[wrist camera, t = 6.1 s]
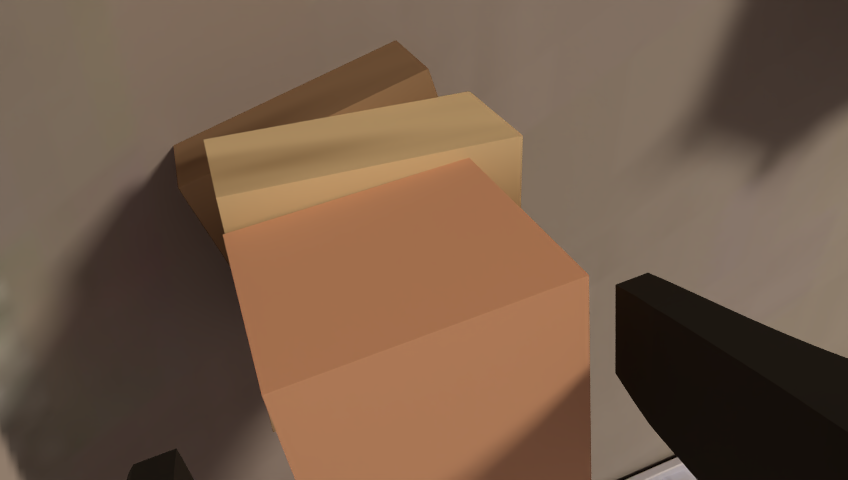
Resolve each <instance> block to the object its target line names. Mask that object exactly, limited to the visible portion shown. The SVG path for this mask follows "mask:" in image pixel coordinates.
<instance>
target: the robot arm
mask: <svg viewBox="0 0 848 480" xmlns="http://www.w3.org/2000/svg"><path fill="white" fill-rule="evenodd" d="M616 375H617V376H618V378H619V379H620V381H621V382H622V384H623V385H624V387H625V389H626V390H627V392H628V393H629V395H630V396H631V398H632V399H633V401H634V402H635V404H636V405H637V407H638V408H639V410H640V411H641V413H642V414H643V416H644V417H645V418H646V420H647V421H648V423H649V424H650V425H651V427H652V428H653V429H654V430H655V431H656V433H657V434H658V435H659V436H660V437H661V438H662V440H663V441H664V442H665V443H666V444H667V445H668V447H669V448H670V449H671V450H672V451H673V452H674V454H675V455H676V456H677V457H676V458H674V459H671V460H669V461H667V462H664V463H662V464H660V465H658V466H655V467H653V468H651V469H648V470H646V471H644V472H642V473H639V474H637V475H635V476H632V477H630V478H628V479H626V480H848V358H845V357H842V356H840V355H837V354H834V353H832V352H829V351H827V350H824V349H821V348H819V347H816V346H814V345H811V344H809V343H806V342H804V341H801V340H799V339H796V338H794V337H792V336H789V335H787V334H784V333H782V332H780V331H777V330H775V329H773V328H770V327H768V326H766V325H763V324H761V323H759V322H757V321H754V320H752V319H750V318H747V317H745V316H743V315H741V314H739V313H736V312H734V311H732V310H730V309H727V308H725V307H723V306H721V305H719V304H717V303H714V302H712V301H710V300H708V299H706V298H703V297H701V296H699V295H697V294H695V293H693V292H690V291H688V290H686V289H684V288H682V287H679V286H677V285H675V284H673V283H671V282H668V281H666V280H664V279H662V278H659V277H657V276H654V275H652V274H650V273H646V274H643V275H641V276H638V277H635V278H633V279H630V280H627V281H625V282H622V283H619V284H617V285H616ZM127 480H194V479H193V477H192V476H191V474H190V472H189V470H188V468H187V467H186V465H185V463H184V461H183V459H182V458H181V456H180V454H179V452H178V450H177V449H174V450H171V451H169V452H166V453H163V454H161V455H158V456H155V457H153V458H150V459H147V460H145V461H142V462H139V463H137V464H134V465H133V467H132V468H131V470H130V472H129V474H128V477H127Z"/></svg>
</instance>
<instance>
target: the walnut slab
mask: <svg viewBox="0 0 848 480" xmlns="http://www.w3.org/2000/svg"><path fill="white" fill-rule="evenodd" d="M437 97H438V96H437V93H436V90H435V87H434V84H433V81H432V78H431V75H430V73H429V70H428V68H427V67H426V66H425V65H423V64H422V63H421V62H420V61H419V60H418V59H417V58H415V57H414V56H413V55H412V54H411V53H410V52H409V51H408V50H406V49H405V48H404V47H403V46H402V45H401V44H400V43H399V42H397V41H393V42H391V43H389V44H387V45H385V46H383V47H381V48H379V49H377V50H374V51H372V52H370V53H368V54H366V55H364V56H362V57H360V58H358V59H355V60H353V61H351V62H349V63H347V64H345V65H343V66H341V67H339V68H336V69H334V70H332V71H330V72H328V73H326V74H324V75H322V76H320V77H317V78H315V79H313V80H311V81H309V82H307V83H305V84H303V85H300V86H298V87H296V88H294V89H292V90H290V91H288V92H286V93H284V94H281V95H279V96H277V97H275V98H273V99H271V100H269V101H267V102H265V103H262V104H260V105H258V106H256V107H254V108H252V109H250V110H248V111H246V112H243V113H241V114H239V115H237V116H235V117H233V118H231V119H229V120H227V121H224V122H222V123H220V124H218V125H216V126H214V127H212V128H210V129H208V130H205V131H203V132H201V133H199V134H197V135H195V136H193V137H191V138H189V139H186V140H184V141H182V142H180V143H178V144H176V145H174V155H175V164H176V173H177V181H178V189H179V190H180V192H181V193H182V195H183V196H184V198H185V199H186V201H187V202H188V204H189V205H190V207H191V208H192V210H193V211H194V213H195V214H196V216H197V217H198V219H199V220H200V222H201V223H202V225H203V226H204V228H205V229H206V231H207V232H208V234H209V235H210V237H211V238H212V240H213V241H214V243H215V244H216V246H217V247H218V249H219V250H220V252H221V253H222V255H223V256H224V258H225V259H226V261H227V262H228V264H229V265H230V263H229V259H228V255H227V251H226V247H225V242H224V238H223V234H225V232H224V228H223V224H222V220H221V216H220V212H219V208H218V204H217V200H216V195H215V191H214V186H213V181H212V177H211V172H210V167H209V163H208V158H207V154H206V149H205V144H204V139H209V138H215V137H220V136H226V135H231V134H237V133H242V132H248V131H253V130H259V129H264V128H270V127H275V126H281V125H286V124H292V123H297V122H303V121H309V120H314V119H320V118H325V117H331V116H336V115H342V114H348V113H353V112H359V111H364V110H370V109H375V108H381V107H387V106H392V105H398V104H403V103H409V102H414V101H420V100H426V99H431V98H437Z"/></svg>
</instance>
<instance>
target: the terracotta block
mask: <svg viewBox="0 0 848 480" xmlns="http://www.w3.org/2000/svg"><path fill="white" fill-rule="evenodd" d="M223 238H224V242H225V247H226V251H227V255H228V259H229V263H230V267H231V271H232V275H233V279H234V283H235V288H236V292H237V296H238V300H239V304H240V308H241V312H242V316H243V320H244V324H245V329H246V333H247V337H248V341H249V345H250V349H251V353H252V357H253V361H254V366H255V370H256V374H257V378H258V382H259V386H260V390H261V394H262V397H263V400H264V402H265V405H266V407H267V410H268V412H269V415H270V417H271V420H272V422H273V425H274V427H275V430H276V432H277V435H278V437H279V440H280V442H281V445H282V447H283V450H284V452H285V455H286V457H287V460H288V462H289V465H290V467H291V470H292V472H293V475H294V477H295V480H591V421H590V334H589V275H588V274H587V273H586V272H585V271H584V270H583V269H582V268H581V267H580V266H579V265H578V264H577V263H576V262H575V261H574V260H573V259H572V258H571V257H570V256H569V255H568V254H567V253H566V252H565V251H564V250H563V249H562V248H561V247H560V246H559V245H558V244H557V243H556V242H555V241H554V240H553V239H552V238H551V237H550V236H549V235H547V234H546V233H545V232H544V231H543V230H542V229H541V228H540V227H539V226H538V225H537V224H536V223H535V222H534V221H533V220H532V219H531V218H530V217H529V216H528V215H527V214H526V213H525V212H524V211H523V210H522V209H521V208H520V207H519V206H518V205H517V204H516V203H515V202H514V201H513V200H512V199H511V198H510V197H509V196H508V195H507V194H506V193H505V192H504V191H503V190H502V189H501V188H500V187H499V186H498V185H497V184H496V183H495V182H494V181H493V180H492V179H491V178H490V177H489V176H488V175H487V174H486V173H484V172H483V171H482V170H481V169H480V168H479V167H478V166H477V165H476V164H475V163H474V162H473V161H472V160H471V159H470V158H466V159H463V160H459V161H456V162H453V163H450V164H447V165H443V166H440V167H437V168H434V169H431V170H427V171H424V172H421V173H418V174H415V175H411V176H408V177H405V178H402V179H399V180H395V181H392V182H389V183H386V184H383V185H379V186H376V187H373V188H370V189H367V190H363V191H360V192H357V193H354V194H351V195H347V196H344V197H341V198H338V199H335V200H331V201H328V202H325V203H322V204H319V205H315V206H312V207H309V208H306V209H303V210H299V211H296V212H293V213H290V214H287V215H283V216H280V217H277V218H274V219H271V220H267V221H264V222H261V223H258V224H255V225H251V226H248V227H245V228H242V229H239V230H235V231H232V232H229V233H226V234H223Z"/></svg>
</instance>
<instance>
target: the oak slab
mask: <svg viewBox="0 0 848 480" xmlns="http://www.w3.org/2000/svg"><path fill="white" fill-rule="evenodd" d="M522 140H523V135H521V134H520V133H519V132H518V131H517V130H515V129H514V128H513V127H512V126H511V125H509V124H508V123H507V122H506V121H504V120H503V119H502V118H501V117H500V116H498V115H497V114H496V113H495V112H494V111H492V110H491V109H490V108H489V107H488V106H486V105H485V104H484V103H483V102H482V101H480V100H479V99H478V98H477V97H476V96H474V95H473V94H472V93H471V92H470V91H469V92H463V93H458V94H452V95H446V96H441V97H437V98H431V99H426V100H420V101H414V102H409V103H403V104H398V105H392V106H387V107H381V108H375V109H370V110H364V111H359V112H353V113H348V114H342V115H336V116H331V117H325V118H320V119H314V120H309V121H303V122H297V123H292V124H286V125H281V126H275V127H270V128H264V129H259V130H253V131H248V132H242V133H237V134H231V135H226V136H220V137H215V138H209V139H204V144H205V149H206V154H207V158H208V163H209V167H210V172H211V177H212V181H213V186H214V191H215V195H216V200H217V204H218V208H219V212H220V216H221V220H222V224H223V228H224V232H225V234H226V233H229V232H232V231H235V230H239V229H242V228H245V227H248V226H251V225H255V224H258V223H261V222H264V221H267V220H271V219H274V218H277V217H280V216H283V215H287V214H290V213H293V212H296V211H299V210H303V209H306V208H309V207H312V206H315V205H319V204H322V203H325V202H328V201H331V200H335V199H338V198H341V197H344V196H347V195H351V194H354V193H357V192H360V191H363V190H367V189H370V188H373V187H376V186H379V185H383V184H386V183H389V182H392V181H395V180H399V179H402V178H405V177H408V176H411V175H415V174H418V173H421V172H424V171H427V170H431V169H434V168H437V167H440V166H443V165H447V164H450V163H453V162H456V161H459V160H463V159H466V158H470V159H471V160H472V161H473V162H474V163H475V164H476V165H477V166H478V167H479V168H480V169H481V170H482V171H483V172H484V173H486V174H487V175H488V176H489V177H490V178H491V179H492V180H493V181H494V182H495V183H496V184H497V185H498V186H499V187H500V188H501V189H502V190H503V191H504V192H505V193H506V194H507V195H508V196H509V197H510V198H511V199H512V200H513V201H514V202H515V203H516V204H517V205H518V206H519V207H520V208H521V176H522ZM268 413H269V412H268ZM269 417H270V415H269ZM270 421H271V425H272V430H273V432H276V430H275V427H274V425H273V422H272V420H271V417H270Z"/></svg>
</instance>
